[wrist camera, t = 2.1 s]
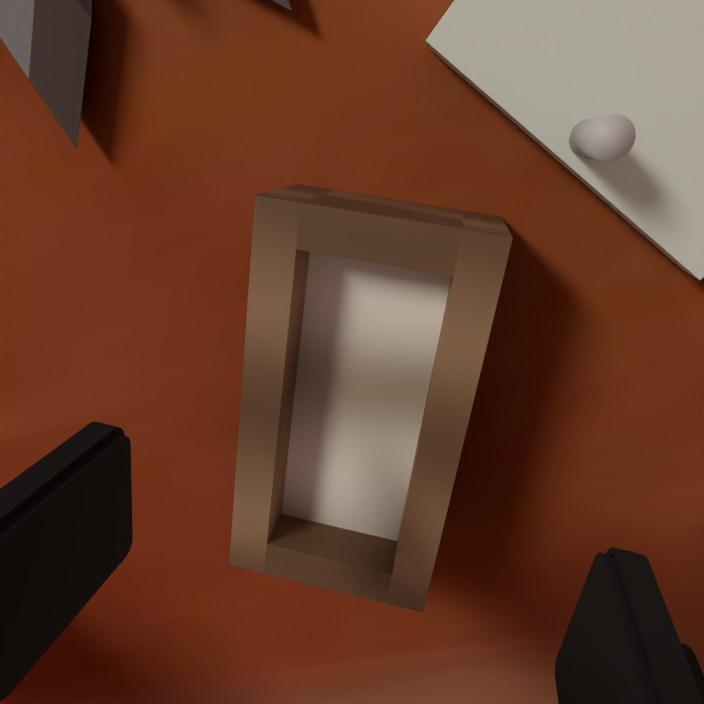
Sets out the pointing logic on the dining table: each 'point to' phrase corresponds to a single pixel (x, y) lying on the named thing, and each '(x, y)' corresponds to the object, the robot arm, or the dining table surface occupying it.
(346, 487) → the frame
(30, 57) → the decorative piece
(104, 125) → the dining table surface
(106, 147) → the dining table surface
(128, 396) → the dining table surface
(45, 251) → the dining table surface
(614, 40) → the panel
